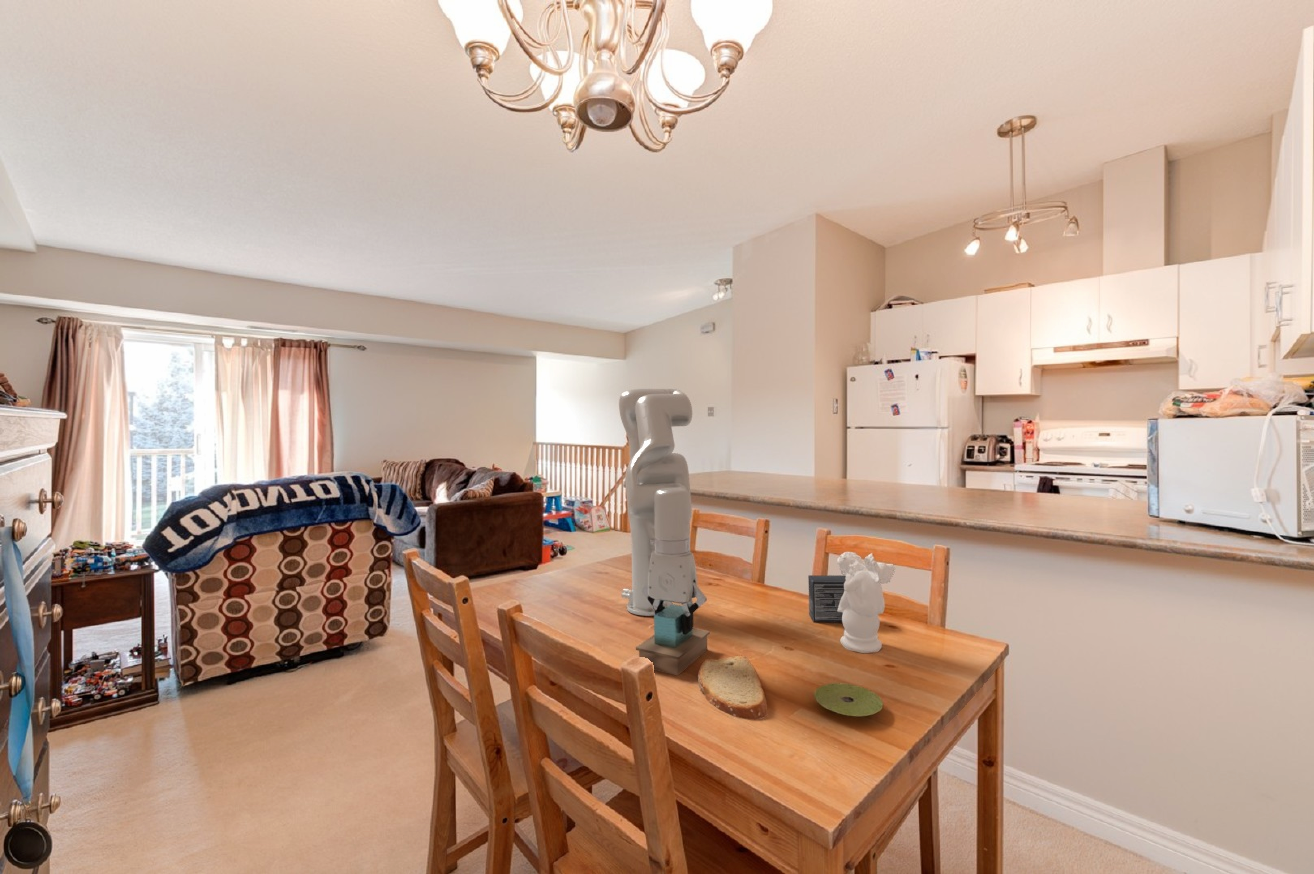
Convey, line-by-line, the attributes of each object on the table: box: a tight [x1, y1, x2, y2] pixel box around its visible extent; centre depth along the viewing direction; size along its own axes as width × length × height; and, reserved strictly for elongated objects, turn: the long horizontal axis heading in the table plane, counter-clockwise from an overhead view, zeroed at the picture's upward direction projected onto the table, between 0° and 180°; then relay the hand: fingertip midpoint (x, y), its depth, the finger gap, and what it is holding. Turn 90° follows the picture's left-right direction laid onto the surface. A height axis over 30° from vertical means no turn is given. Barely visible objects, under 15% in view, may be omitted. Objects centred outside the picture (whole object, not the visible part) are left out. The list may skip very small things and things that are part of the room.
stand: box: [635, 627, 711, 676], centre depth 115 cm, size 10×15×4 cm, turn 150°
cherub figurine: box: [836, 551, 896, 654], centre depth 120 cm, size 12×12×22 cm
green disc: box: [814, 682, 884, 717], centre depth 93 cm, size 11×11×2 cm
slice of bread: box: [697, 654, 768, 720], centre depth 102 cm, size 18×18×4 cm
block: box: [653, 603, 693, 648], centre depth 115 cm, size 5×8×6 cm, turn 150°
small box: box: [807, 574, 846, 624], centre depth 137 cm, size 11×6×10 cm, turn 84°
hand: (673, 628), depth 115 cm, fingers open, 5 cm apart
